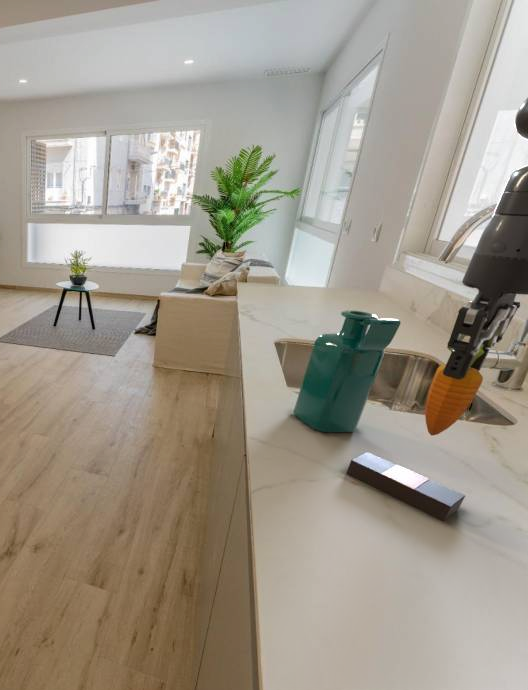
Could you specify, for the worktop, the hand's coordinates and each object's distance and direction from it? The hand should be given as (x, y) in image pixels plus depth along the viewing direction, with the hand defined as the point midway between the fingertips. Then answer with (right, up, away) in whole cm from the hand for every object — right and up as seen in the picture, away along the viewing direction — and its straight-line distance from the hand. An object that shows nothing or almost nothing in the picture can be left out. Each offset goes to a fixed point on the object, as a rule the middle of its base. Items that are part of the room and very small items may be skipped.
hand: (460, 373), depth 61 cm
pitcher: (-5, -10, +20) cm, 23 cm away
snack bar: (-7, -18, +2) cm, 19 cm away
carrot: (0, -10, +4) cm, 11 cm away
